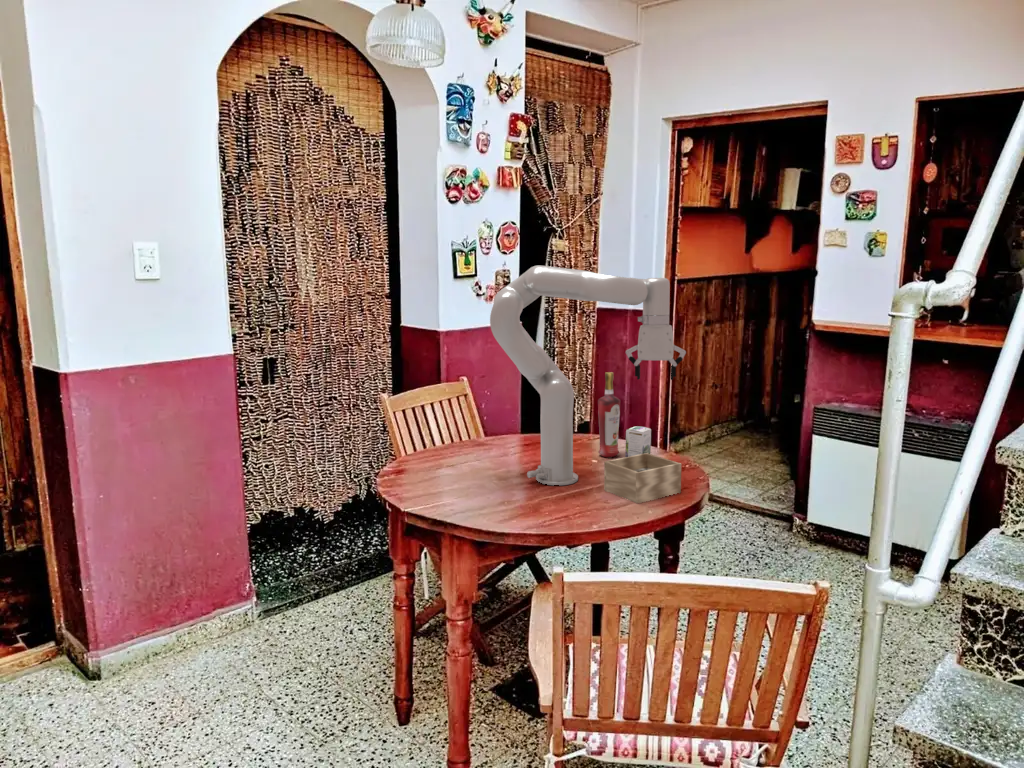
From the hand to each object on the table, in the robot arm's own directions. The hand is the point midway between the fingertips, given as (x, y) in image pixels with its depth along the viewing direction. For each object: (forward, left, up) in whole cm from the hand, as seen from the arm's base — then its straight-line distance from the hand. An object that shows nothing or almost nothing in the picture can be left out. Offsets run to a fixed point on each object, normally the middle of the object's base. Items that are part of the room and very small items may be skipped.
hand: (655, 379), depth 219 cm
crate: (-12, -9, -30) cm, 33 cm away
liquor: (+5, +26, -30) cm, 40 cm away
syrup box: (-2, +4, -30) cm, 31 cm away
